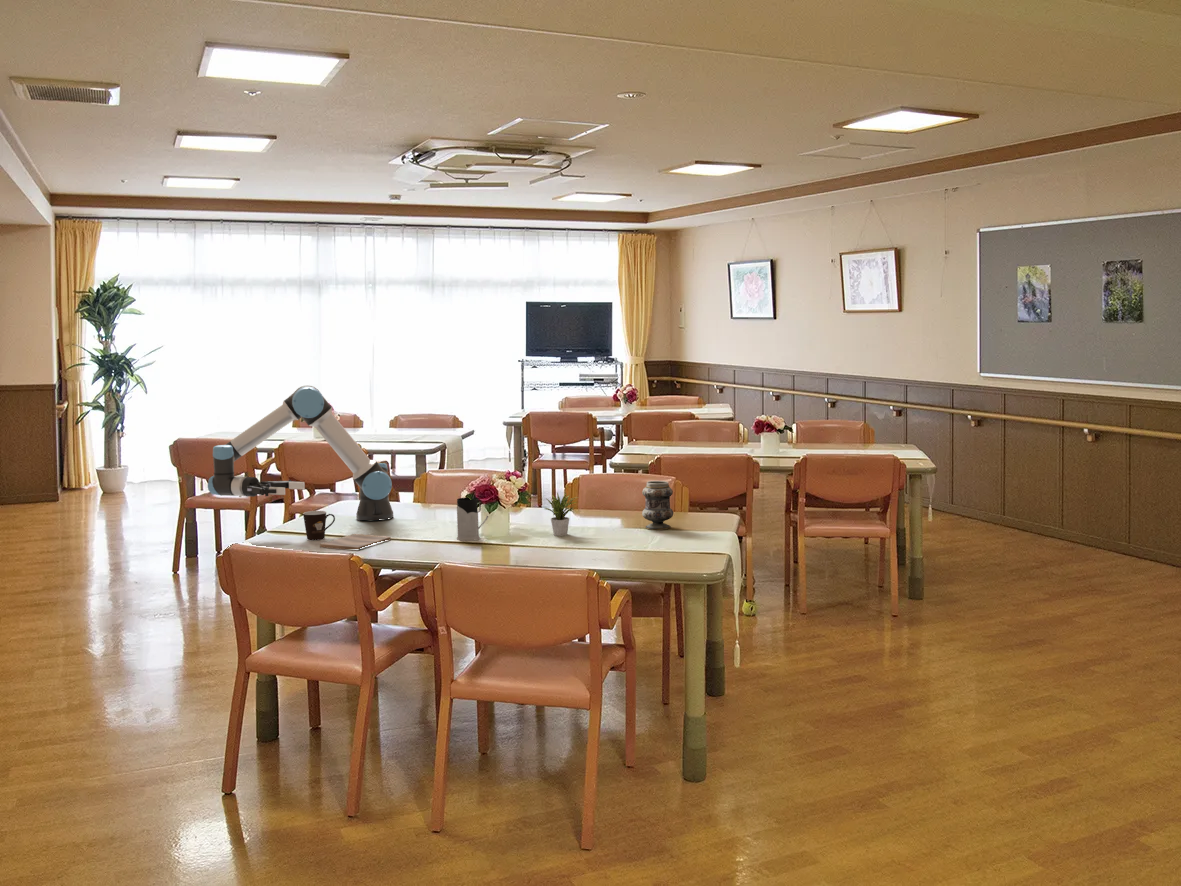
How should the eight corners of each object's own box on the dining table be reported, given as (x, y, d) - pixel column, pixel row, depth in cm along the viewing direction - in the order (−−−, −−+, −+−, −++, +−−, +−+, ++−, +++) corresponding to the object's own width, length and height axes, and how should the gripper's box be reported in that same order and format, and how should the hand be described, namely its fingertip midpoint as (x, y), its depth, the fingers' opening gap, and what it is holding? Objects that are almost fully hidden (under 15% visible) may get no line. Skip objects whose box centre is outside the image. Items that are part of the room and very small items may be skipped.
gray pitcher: (452, 538, 417) (451, 498, 415) (484, 533, 425) (483, 494, 424) (464, 541, 410) (462, 501, 408) (496, 536, 418) (495, 497, 417)
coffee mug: (303, 541, 416) (302, 515, 415) (304, 537, 424) (303, 511, 423) (335, 539, 418) (334, 513, 417) (335, 535, 426) (334, 509, 425)
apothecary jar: (673, 524, 435) (673, 479, 433) (673, 530, 424) (672, 484, 422) (643, 524, 437) (642, 479, 435) (641, 530, 425) (640, 484, 423)
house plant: (575, 539, 411) (574, 496, 409) (538, 538, 413) (537, 495, 412) (582, 531, 425) (582, 489, 423) (547, 531, 427) (546, 489, 425)
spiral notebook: (353, 536, 423) (353, 533, 423) (390, 539, 416) (390, 536, 416) (320, 547, 405) (320, 543, 405) (358, 550, 398) (358, 547, 398)
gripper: (265, 491, 440) (312, 493, 434) (227, 501, 416) (276, 503, 410) (264, 472, 439) (311, 474, 433) (226, 481, 416) (275, 483, 409)
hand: (294, 488), depth 422 cm, fingers open, 13 cm apart
